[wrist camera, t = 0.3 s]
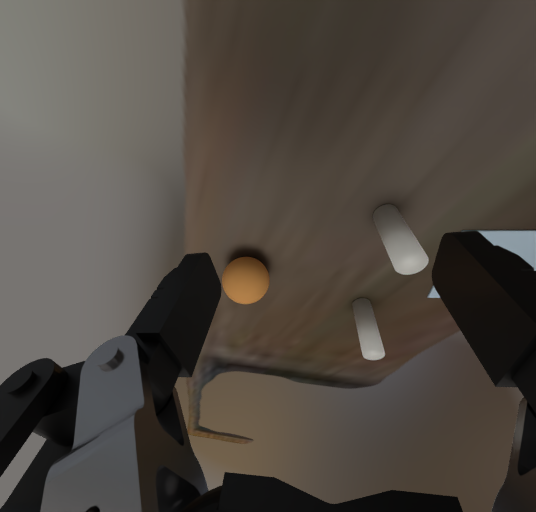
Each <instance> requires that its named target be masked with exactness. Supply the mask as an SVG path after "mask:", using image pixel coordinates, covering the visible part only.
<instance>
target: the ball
mask: <svg viewBox="0 0 536 512" xmlns="http://www.w3.org/2000/svg"><path fill="white" fill-rule="evenodd" d="M222 284H223V288H224V291H225V292H226V294H227V295H228V297H229V298H231V299H232V300H233V301H235V302H237V303H241V304H250V303H254V302H256V301H258V300H259V299H261V298H262V297H263V296H264V295H265V293H266V291H267V289H268V287H269V274H268V271H267V269H266V267H265V266H264V265H263V264H262V263H261V262H260V261H259V260H257V259H255V258H252V257H240V258H237V259H235V260H233V261H232V262H230V263H229V264H228V266H227V267H226V269H225V270H224V273H223V277H222Z"/></svg>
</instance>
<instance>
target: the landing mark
mask: <svg viewBox="0 0 536 512" xmlns="http://www.w3.org/2000/svg"><path fill="white" fill-rule="evenodd" d="M463 231H478V232H479V233H481V234H482V235H483V236H484V237H485V238H486V239H487V240H489V241H490V242H491V243H492V244H493V245H494V246H495V245H498V246H500V247H503V248H505V249H507V250H509V251H511V252H513V253H515V254H517V255H519V256H520V257H521V258H523V259H524V260H525V261H526V262H527V263H529V264H530V265H531V266H532V267H533V268H534V271H536V230H462V231H461V232H463ZM427 297H430V298H440V296H439V294H438V293H437V291H436V289H435V288H434V285H433V286H432V288H431V290H430V292H429V294H428V296H427Z"/></svg>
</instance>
